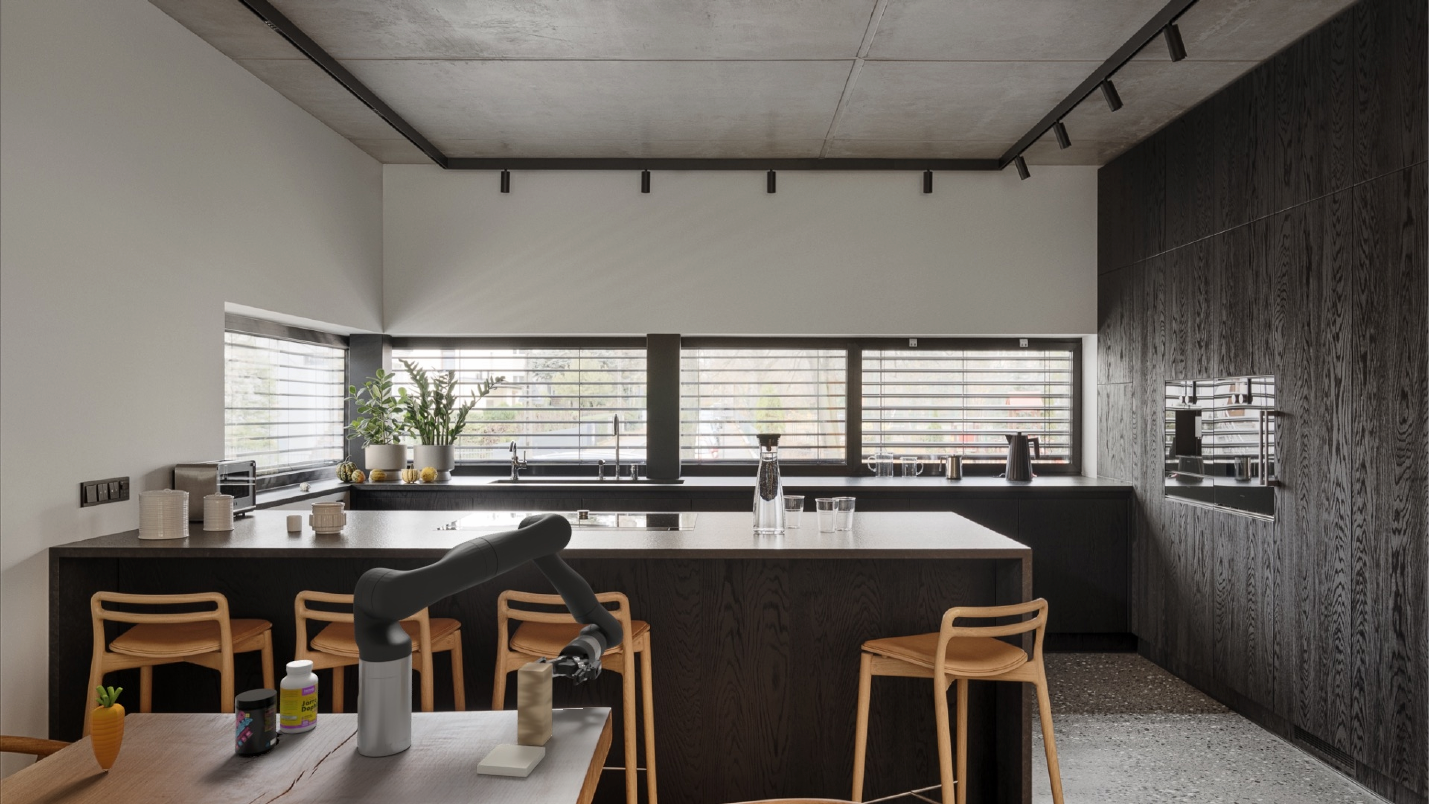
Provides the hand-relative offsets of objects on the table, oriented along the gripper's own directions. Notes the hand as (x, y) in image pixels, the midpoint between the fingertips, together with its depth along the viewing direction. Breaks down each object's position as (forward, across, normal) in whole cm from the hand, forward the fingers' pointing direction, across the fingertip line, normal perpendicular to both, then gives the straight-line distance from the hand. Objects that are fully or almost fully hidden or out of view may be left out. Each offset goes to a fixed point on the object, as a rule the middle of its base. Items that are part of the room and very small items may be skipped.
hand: (555, 679), depth 166 cm
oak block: (+11, 0, +8) cm, 14 cm away
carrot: (+36, -69, +8) cm, 78 cm away
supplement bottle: (+13, -48, +8) cm, 51 cm away
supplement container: (+24, -49, +8) cm, 55 cm away
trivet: (+22, 0, +8) cm, 23 cm away
